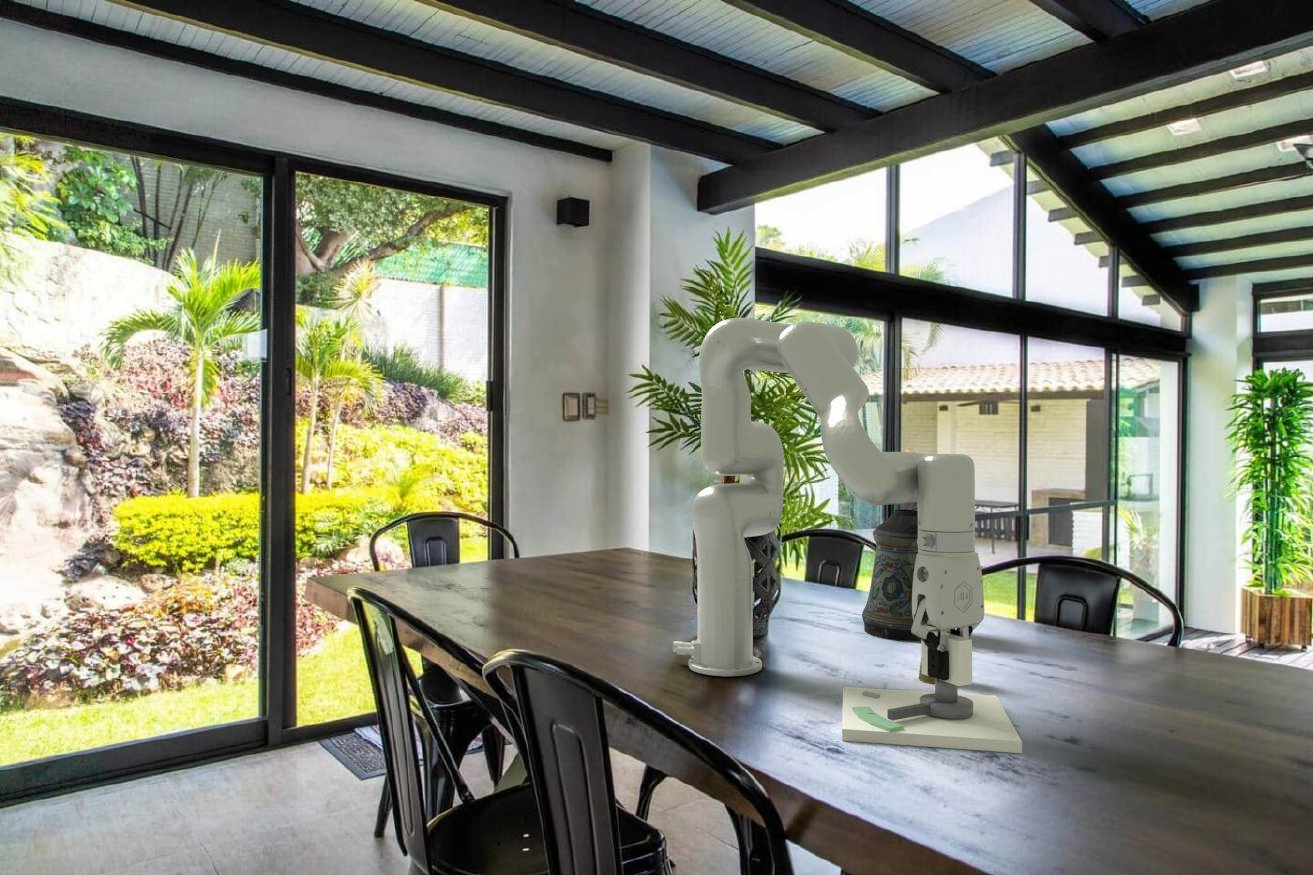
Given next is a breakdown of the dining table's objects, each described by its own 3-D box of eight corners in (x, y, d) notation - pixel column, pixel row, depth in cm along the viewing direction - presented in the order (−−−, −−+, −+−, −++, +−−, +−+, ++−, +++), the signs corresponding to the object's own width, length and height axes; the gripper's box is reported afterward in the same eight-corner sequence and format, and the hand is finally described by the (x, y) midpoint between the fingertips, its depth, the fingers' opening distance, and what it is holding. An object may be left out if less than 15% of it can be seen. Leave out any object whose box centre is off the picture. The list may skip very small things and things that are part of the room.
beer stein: (880, 621, 190) (879, 505, 190) (971, 632, 179) (970, 509, 179) (849, 634, 177) (848, 510, 177) (945, 647, 165) (945, 515, 165)
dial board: (842, 740, 114) (842, 725, 114) (843, 696, 134) (843, 683, 134) (1022, 753, 109) (1022, 737, 109) (996, 706, 129) (996, 692, 129)
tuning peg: (946, 700, 126) (946, 627, 126) (984, 714, 119) (984, 637, 119) (872, 713, 120) (872, 637, 120) (908, 728, 113) (908, 648, 113)
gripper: (927, 549, 113) (928, 692, 113) (1007, 541, 122) (1007, 674, 122) (884, 544, 120) (884, 679, 120) (962, 537, 128) (962, 662, 128)
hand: (946, 675), depth 121 cm, fingers closed on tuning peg, 2 cm apart
